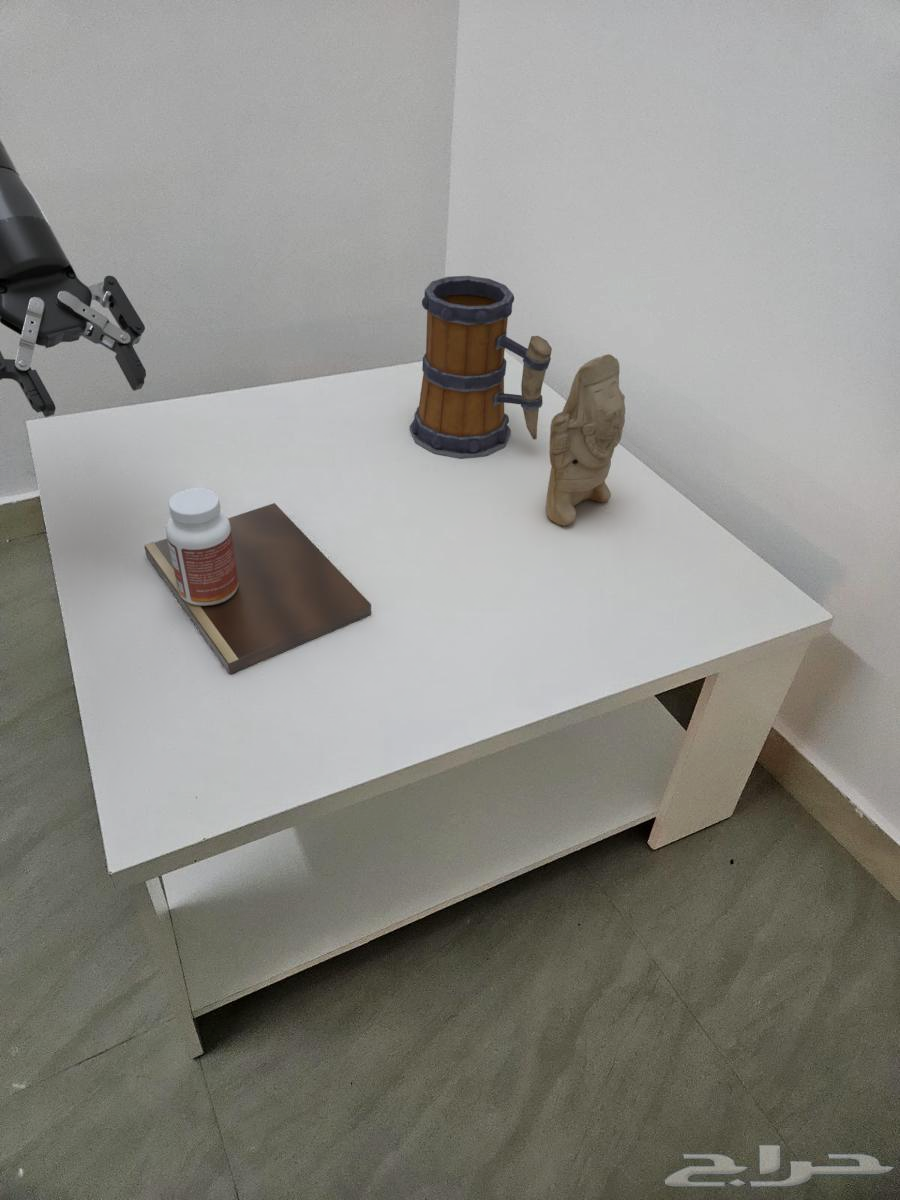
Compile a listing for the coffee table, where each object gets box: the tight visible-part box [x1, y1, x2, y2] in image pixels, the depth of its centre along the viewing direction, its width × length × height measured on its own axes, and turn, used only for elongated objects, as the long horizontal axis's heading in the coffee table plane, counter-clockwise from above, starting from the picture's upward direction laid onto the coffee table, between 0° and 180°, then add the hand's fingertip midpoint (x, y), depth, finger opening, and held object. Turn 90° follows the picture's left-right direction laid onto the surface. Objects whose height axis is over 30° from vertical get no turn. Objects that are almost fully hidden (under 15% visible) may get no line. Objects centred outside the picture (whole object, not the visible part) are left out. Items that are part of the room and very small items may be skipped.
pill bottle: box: [165, 487, 238, 606], centre depth 82 cm, size 6×6×11 cm
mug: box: [408, 275, 553, 459], centre depth 109 cm, size 19×14×20 cm
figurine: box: [545, 353, 626, 527], centre depth 96 cm, size 13×7×20 cm, turn 131°
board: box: [143, 502, 372, 675], centre depth 88 cm, size 16×22×2 cm
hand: (96, 399), depth 75 cm, fingers open, 8 cm apart
